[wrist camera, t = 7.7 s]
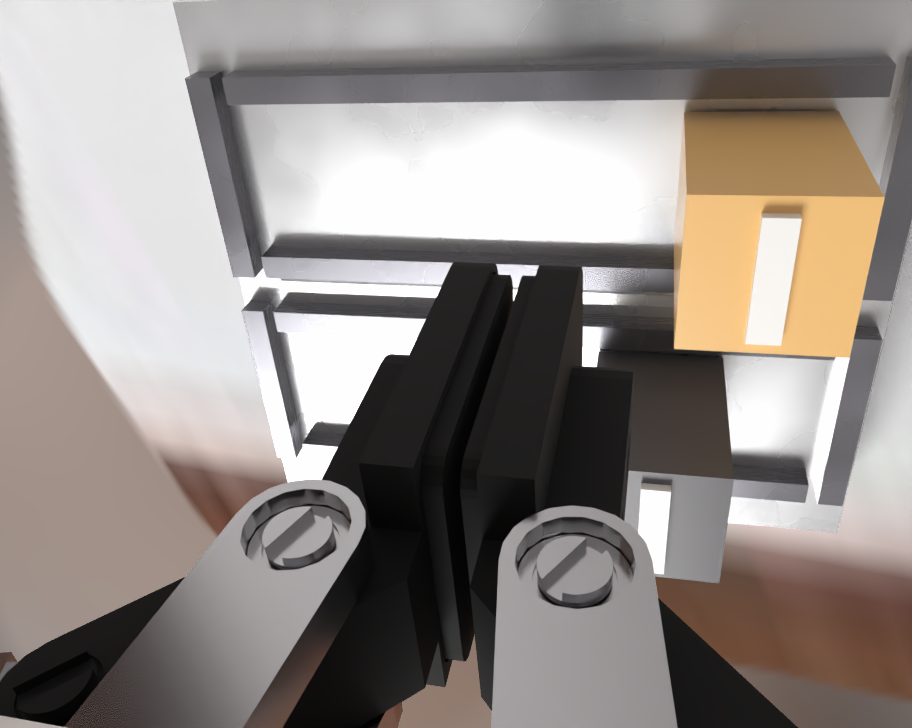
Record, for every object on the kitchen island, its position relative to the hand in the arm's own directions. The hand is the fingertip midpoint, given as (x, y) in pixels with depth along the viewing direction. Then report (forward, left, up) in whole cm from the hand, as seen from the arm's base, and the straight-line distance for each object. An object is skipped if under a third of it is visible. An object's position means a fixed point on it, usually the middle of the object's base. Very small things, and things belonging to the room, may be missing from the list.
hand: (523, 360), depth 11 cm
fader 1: (+7, +2, -9) cm, 11 cm away
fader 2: (+1, +4, -9) cm, 9 cm away
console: (+4, -1, -11) cm, 11 cm away
